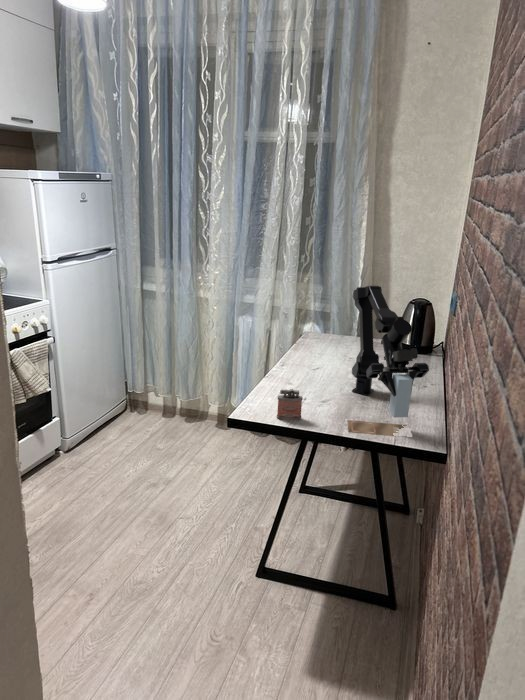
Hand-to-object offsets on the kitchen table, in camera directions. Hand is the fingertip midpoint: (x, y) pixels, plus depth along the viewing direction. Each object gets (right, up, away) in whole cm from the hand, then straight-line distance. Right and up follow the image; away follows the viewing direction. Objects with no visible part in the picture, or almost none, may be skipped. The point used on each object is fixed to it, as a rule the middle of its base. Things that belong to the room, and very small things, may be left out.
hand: (402, 395), depth 166 cm
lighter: (-34, -8, +11) cm, 37 cm away
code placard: (-6, -11, +6) cm, 14 cm away
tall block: (0, -6, +3) cm, 7 cm away
